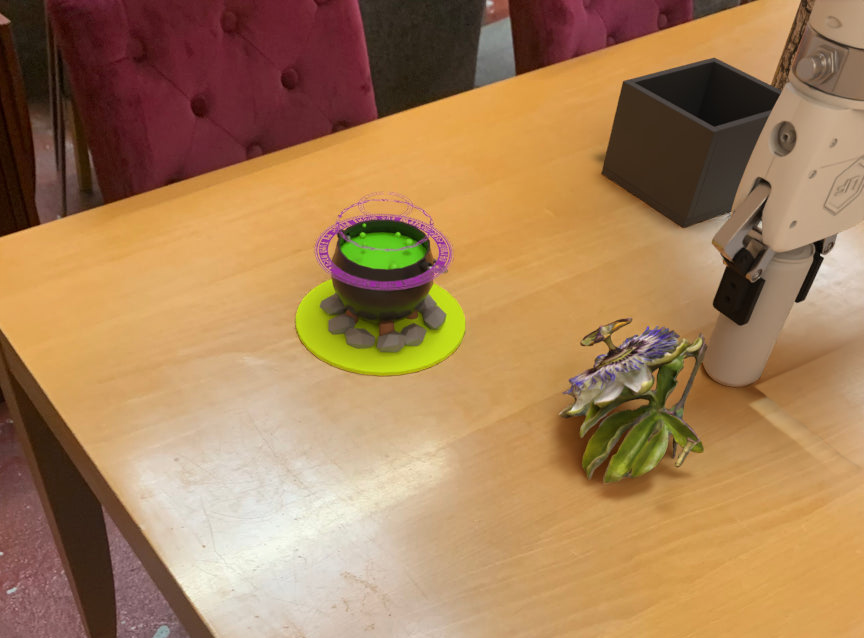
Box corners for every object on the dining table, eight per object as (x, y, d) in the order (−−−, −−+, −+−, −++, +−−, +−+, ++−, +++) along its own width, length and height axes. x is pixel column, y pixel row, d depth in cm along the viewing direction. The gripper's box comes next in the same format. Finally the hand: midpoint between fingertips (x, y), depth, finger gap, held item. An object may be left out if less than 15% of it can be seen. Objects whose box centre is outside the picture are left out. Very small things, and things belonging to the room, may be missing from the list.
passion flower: (572, 461, 75) (607, 317, 72) (705, 494, 69) (748, 340, 67) (525, 468, 65) (563, 302, 62) (675, 508, 60) (724, 329, 57)
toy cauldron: (496, 309, 80) (514, 194, 72) (407, 399, 71) (417, 281, 63) (357, 255, 85) (359, 143, 77) (260, 333, 77) (251, 216, 69)
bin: (687, 147, 101) (714, 57, 94) (772, 197, 94) (809, 103, 86) (601, 173, 97) (622, 80, 89) (683, 227, 89) (714, 131, 82)
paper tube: (751, 150, 101) (845, -113, 82) (753, 124, 105) (843, -131, 86) (814, 160, 99) (925, -105, 80) (814, 134, 103) (919, -124, 85)
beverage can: (734, 398, 72) (790, 268, 63) (687, 367, 75) (735, 238, 66) (771, 376, 74) (831, 247, 65) (724, 346, 77) (775, 219, 68)
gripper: (812, 114, 51) (712, 365, 64) (999, 57, 57) (871, 298, 70) (716, 66, 55) (641, 310, 69) (898, 17, 61) (796, 252, 74)
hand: (758, 302), depth 69 cm, fingers open, 5 cm apart
